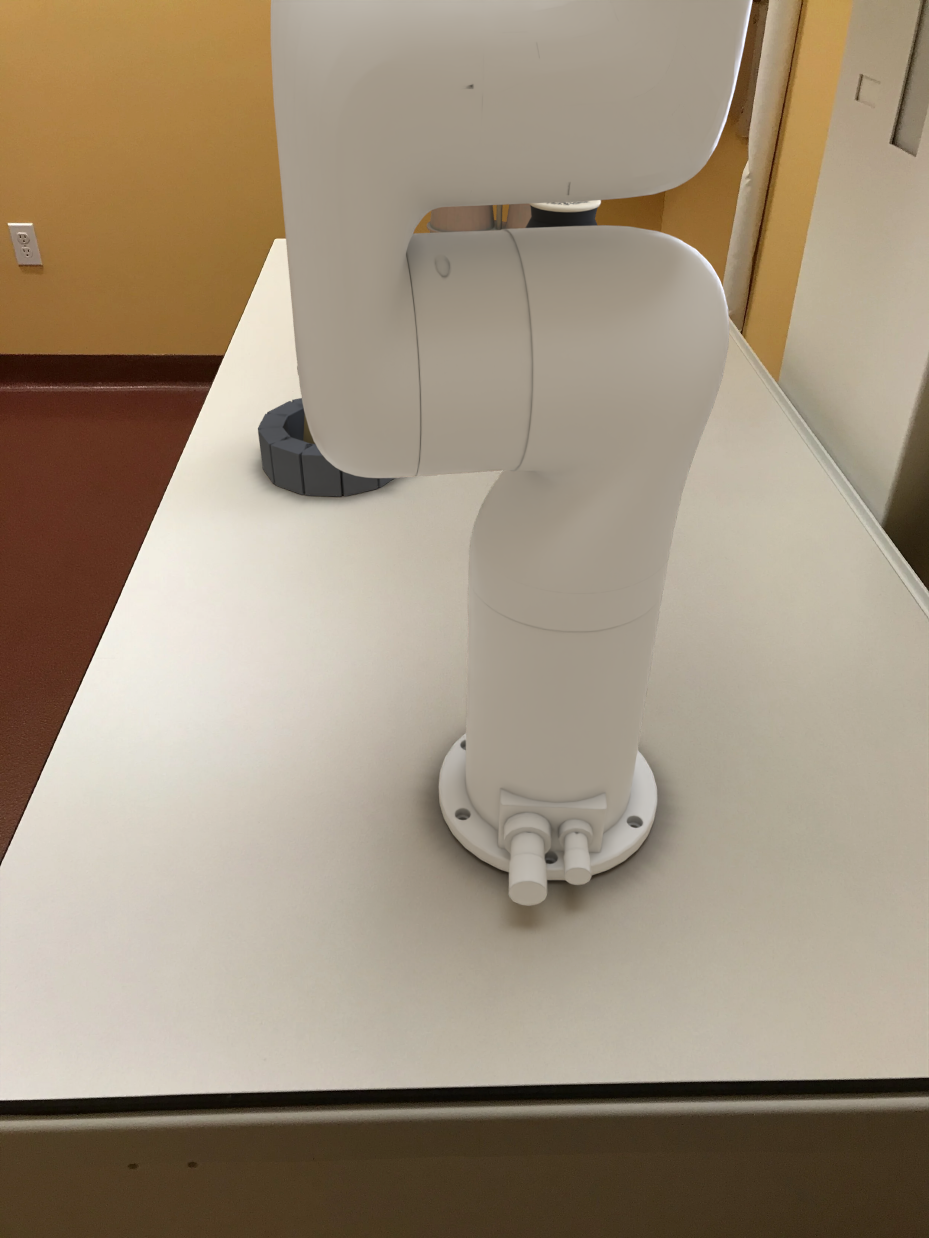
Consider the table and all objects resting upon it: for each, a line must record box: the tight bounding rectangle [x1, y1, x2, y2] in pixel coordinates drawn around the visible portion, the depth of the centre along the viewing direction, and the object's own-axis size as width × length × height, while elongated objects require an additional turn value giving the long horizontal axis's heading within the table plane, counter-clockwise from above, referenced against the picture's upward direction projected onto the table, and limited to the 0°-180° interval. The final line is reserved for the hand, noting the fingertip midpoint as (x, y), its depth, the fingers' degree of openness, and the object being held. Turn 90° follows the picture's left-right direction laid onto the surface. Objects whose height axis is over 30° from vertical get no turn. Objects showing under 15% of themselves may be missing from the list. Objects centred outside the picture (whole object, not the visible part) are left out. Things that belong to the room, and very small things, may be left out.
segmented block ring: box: [257, 397, 395, 498], centre depth 88 cm, size 13×13×4 cm
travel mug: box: [526, 200, 602, 228], centre depth 104 cm, size 8×8×18 cm
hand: (430, 120), depth 76 cm, fingers open, 9 cm apart
